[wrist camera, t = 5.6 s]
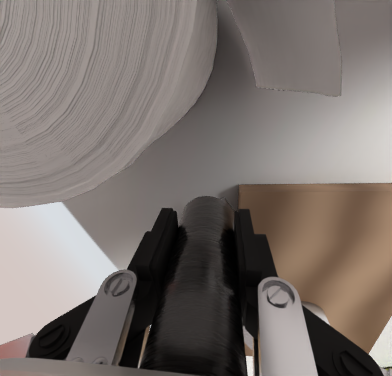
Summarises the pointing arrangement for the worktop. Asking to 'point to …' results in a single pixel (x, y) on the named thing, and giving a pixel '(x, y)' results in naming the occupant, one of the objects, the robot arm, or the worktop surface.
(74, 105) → the toilet tissue
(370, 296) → the press base
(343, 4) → the worktop surface
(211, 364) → the lever
